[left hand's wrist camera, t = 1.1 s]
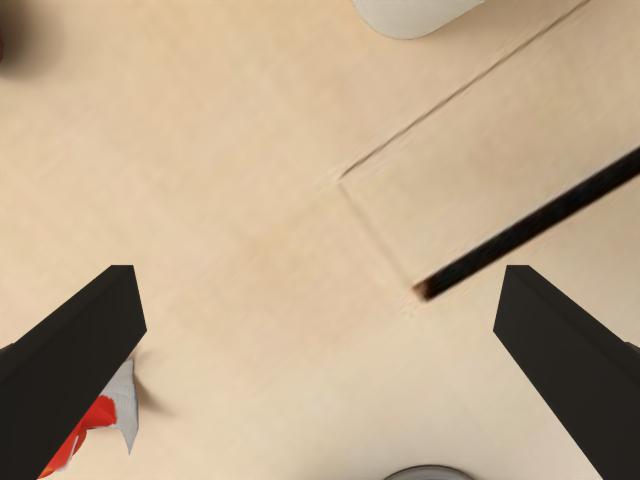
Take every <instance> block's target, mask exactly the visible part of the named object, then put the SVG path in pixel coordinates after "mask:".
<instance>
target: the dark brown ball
mask: <svg viewBox="0 0 640 480" xmlns="http://www.w3.org/2000/svg"><path fill="white" fill-rule="evenodd" d="M2 57H3V41H2V36H1V31H0V62H1V60H2Z"/></svg>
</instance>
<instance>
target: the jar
mask: <svg viewBox="0 0 640 480" xmlns="http://www.w3.org/2000/svg"><path fill="white" fill-rule="evenodd" d="M351 1H352V4H353V5H354V7H355V9H356V11H357V13H358V14H359V16H360V17H361V18H362V20H363V21H364V22H365V23H366V24H367V25H368V26H369V27H371V28H372V29H373V30H375V31H376V32H378V33H379V34H382V35H384V36H386V37H390V38H393V39H401V40H406V39H414V38H419V37H422V36H425V35H427V34H429V33H431V32H433V31H435V30H437V29H438V28H440V27H442V26H443V25H445V24H447V23H449V22H450V21H452V20H454V19H455V18H457V17H459V16H461V15H462V14H464V13H466V12H467V11H469V10H471V9H472V8H474V7H476V6H478V5H479V4H481V3H483V2H484V1H486V0H351Z"/></svg>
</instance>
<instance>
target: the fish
mask: <svg viewBox="0 0 640 480" xmlns="http://www.w3.org/2000/svg"><path fill="white" fill-rule="evenodd" d="M133 367H134V366H133V359H132V358H131V359H129V360H127V361H125V362H124V363H123V364H122V365H121V367H120V368H119V369H118V371H117V372H116V373H115V375H114V376H113V377H112V379H111V380H110V381H109V383H108V384H107V386H106V387H105V388H104V390H103V391H102V392H101V394H100V395H99V396H98V398H97V399H96V400H95V402H94V403H93V404H92V406H91V407H90V408H89V410H88V411H87V413H86V414H85V415H84V417H83V418H82V419H81V421H80V422H79V423H78V425H77V426H76V427H75V429H74V430H73V431H72V433H71V434H70V435H69V437H68V438H67V439H66V441H65V442H64V444H63V445H62V446H61V448H60V449H59V450H58V452H57V453H56V454H55V456H54V457H53V458H52V460H51V461H50V462H49V464H48V465H47V466H46V468H45V469H44V470H43V472H42V473H41V475H40V476H39V477H38V479H40V478H44V477H47V476H49V475H50V474H52V473H53V472H54V471H55V472H60V471H64V470H65V469H66V468H67V467H68V465H69V463H70V461H71V458H72V456H73V455H74V454H75V453H76V452H77V451H78V449H79V448H80V447H81V445H82V443H83V442H84V440H85V438H86V434H87V431H86V430H87V429H88V430H89V429H95V428H102V427H111V428H119V429H120V430H121V432H122V433H123V435H124V438H125V440H126V443H127V447H128V451H129V455H130V452H131V449H132V446H133V443H134V440H135V437H136V434H137V431H138V400H137V394H136V389H135V383H134V378H133Z"/></svg>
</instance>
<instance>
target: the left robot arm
mask: <svg viewBox="0 0 640 480" xmlns="http://www.w3.org/2000/svg"><path fill="white" fill-rule="evenodd" d="M146 332H147V328H146V324H145V319H144V314H143V309H142V305H141V300H140V295H139V290H138V286H137V281H136V276H135V271H134V267H133V265H111V266H110V267H108V268H107V269H106V270H105V271H104V272H102V273H101V274H100V275H99V276H97V277H96V278H95V279H94V280H92V281H91V282H90V283H89V284H87V285H86V286H85V287H84V288H82V289H81V290H80V291H79V292H77V293H76V294H75V295H74V296H72V297H71V298H70V299H69V300H67V301H66V302H65V303H64V304H62V305H61V306H60V307H59V308H57V309H56V310H55V311H54V312H52V313H51V314H50V315H49V316H47V317H46V318H45V319H44V320H42V321H41V322H40V323H39V324H38V325H36V326H35V327H34V328H33V329H31V330H30V331H29V332H28V333H26V334H25V335H24V336H23V337H21V338H20V339H19V340H18V341H16V342H15V343H12V344H10V345H8V346H6V347H4V348H2V349H0V480H37V479H38V477H39V476H40V475H41V473H42V472H43V470H44V469H45V468H46V466H47V465H48V464H49V462H50V461H51V460H52V458H53V457H54V456H55V454H56V453H57V452H58V450H59V449H60V448H61V446H62V445H63V444H64V442H65V441H66V439H67V438H68V437H69V435H70V434H71V433H72V431H73V430H74V429H75V427H76V426H77V425H78V423H79V422H80V421H81V419H82V418H83V417H84V415H85V414H86V413H87V411H88V410H89V408H90V407H91V406H92V404H93V403H94V402H95V400H96V399H97V398H98V396H99V395H100V394H101V392H102V391H103V390H104V388H105V387H106V386H107V384H108V383H109V381H110V380H111V379H112V377H113V376H114V375H115V373H116V372H117V371H118V369H119V368H120V367H121V365H122V364H123V363H124V361H125V360H126V359H127V357H128V356H129V355H130V353H131V352H132V350H133V349H134V348H135V346H136V345H137V344H138V342H139V341H140V340H141V338H142V337H143V336H144V334H145V333H146ZM493 332H494V333H495V334H496V336H497V337H498V338H499V340H500V341H501V342H502V344H503V345H504V346H505V348H506V349H507V350H508V352H509V353H510V355H511V356H512V357H513V359H514V360H515V361H516V363H517V364H518V365H519V367H520V368H521V369H522V371H523V372H524V373H525V375H526V376H527V377H528V379H529V380H530V381H531V383H532V384H533V386H534V387H535V388H536V390H537V391H538V392H539V394H540V395H541V396H542V398H543V399H544V400H545V402H546V403H547V404H548V406H549V407H550V408H551V410H552V411H553V413H554V414H555V415H556V417H557V418H558V419H559V421H560V422H561V423H562V425H563V426H564V427H565V429H566V430H567V431H568V433H569V434H570V435H571V437H572V438H573V439H574V441H575V442H576V444H577V445H578V446H579V448H580V449H581V450H582V452H583V453H584V454H585V456H586V457H587V458H588V460H589V461H590V462H591V464H592V465H593V466H594V468H595V469H596V470H597V472H598V473H599V475H600V476H601V477H602V479H603V480H640V348H639V347H637V346H635V345H633V344H631V343H629V342H624V341H622V340H621V339H620V338H619V337H617V336H616V335H615V334H614V333H612V332H611V331H610V330H609V329H607V328H606V327H605V326H604V325H602V324H601V323H600V322H599V321H598V320H596V319H595V318H594V317H593V316H591V315H590V314H589V313H588V312H586V311H585V310H584V309H583V308H581V307H580V306H579V305H578V304H576V303H575V302H574V301H573V300H571V299H570V298H569V297H568V296H566V295H565V294H564V293H563V292H561V291H560V290H559V289H558V288H556V287H555V286H554V285H553V284H551V283H550V282H549V281H548V280H546V279H545V278H544V277H543V276H541V275H540V274H539V273H538V272H536V271H535V270H534V269H533V268H532V267H530V266H529V265H507V267H506V271H505V276H504V281H503V286H502V290H501V295H500V300H499V305H498V309H497V314H496V319H495V324H494V328H493ZM385 480H472V479H471V478H470V477H468V476H467V475H465V474H463V473H461V472H459V471H456V470H453V469H449V468H445V467H436V466H426V467H417V468H412V469H408V470H404V471H401V472H399V473H396V474H394V475H392V476H390V477H389V478H387V479H385Z"/></svg>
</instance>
